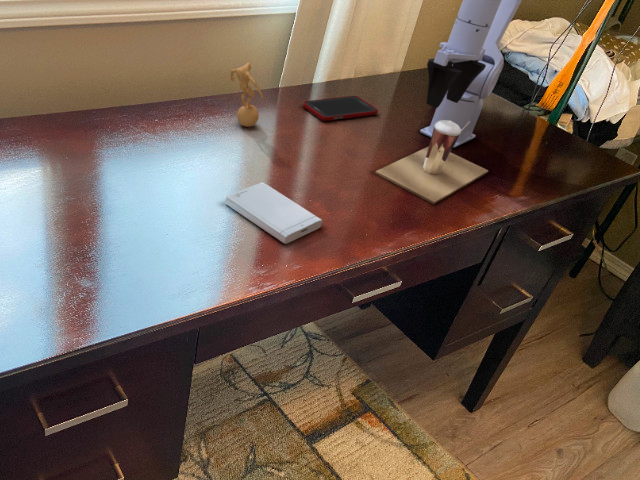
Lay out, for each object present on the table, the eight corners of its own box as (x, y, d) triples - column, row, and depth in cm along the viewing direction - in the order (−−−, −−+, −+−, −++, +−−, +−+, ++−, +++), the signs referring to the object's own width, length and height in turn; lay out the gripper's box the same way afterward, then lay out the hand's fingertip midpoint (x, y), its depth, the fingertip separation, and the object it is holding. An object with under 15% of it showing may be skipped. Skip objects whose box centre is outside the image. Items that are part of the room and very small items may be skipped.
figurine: (269, 132, 113) (280, 68, 106) (245, 139, 110) (255, 73, 102) (239, 114, 117) (248, 51, 110) (215, 120, 114) (223, 56, 106)
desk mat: (432, 146, 119) (433, 144, 118) (487, 173, 113) (488, 170, 113) (374, 173, 107) (375, 170, 106) (433, 204, 101) (434, 202, 101)
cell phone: (378, 114, 127) (380, 110, 126) (323, 122, 120) (324, 117, 119) (355, 99, 131) (356, 95, 131) (300, 106, 125) (301, 101, 124)
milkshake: (449, 179, 108) (471, 126, 101) (419, 173, 108) (439, 120, 102) (448, 168, 111) (468, 116, 105) (418, 161, 111) (437, 109, 105)
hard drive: (225, 195, 91) (286, 235, 85) (263, 181, 96) (323, 218, 90) (224, 205, 92) (284, 245, 86) (262, 190, 97) (321, 227, 91)
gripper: (471, 14, 107) (441, 91, 114) (431, 15, 97) (402, 99, 105) (508, 26, 103) (475, 104, 111) (471, 29, 94) (438, 114, 102)
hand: (442, 103), depth 108 cm, fingers open, 7 cm apart
